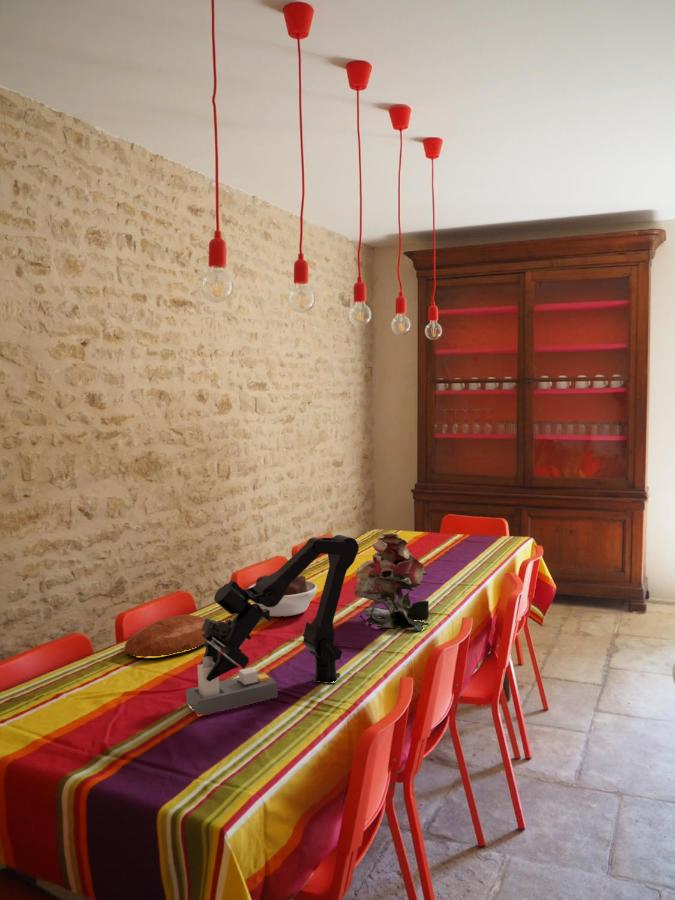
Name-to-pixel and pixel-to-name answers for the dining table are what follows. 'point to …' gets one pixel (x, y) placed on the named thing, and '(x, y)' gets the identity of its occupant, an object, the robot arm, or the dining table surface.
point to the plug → (204, 685)
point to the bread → (167, 636)
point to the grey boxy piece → (234, 692)
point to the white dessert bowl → (292, 597)
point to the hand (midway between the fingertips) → (203, 676)
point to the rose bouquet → (392, 583)
